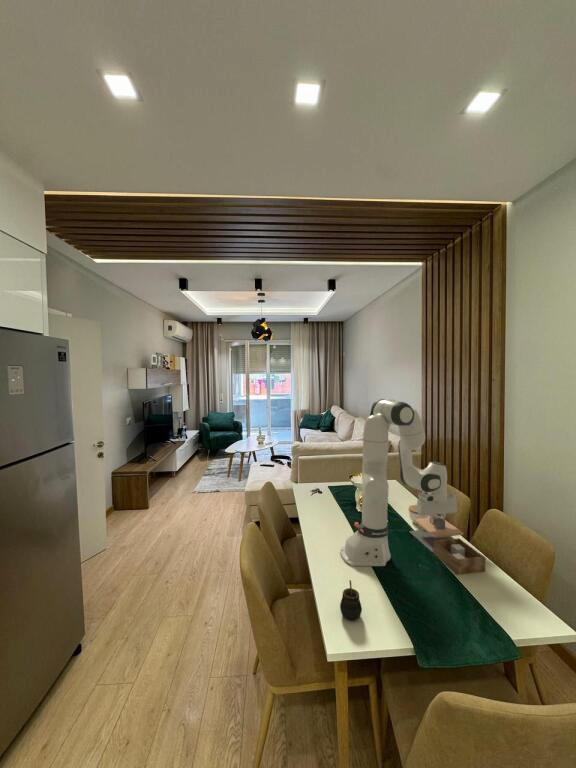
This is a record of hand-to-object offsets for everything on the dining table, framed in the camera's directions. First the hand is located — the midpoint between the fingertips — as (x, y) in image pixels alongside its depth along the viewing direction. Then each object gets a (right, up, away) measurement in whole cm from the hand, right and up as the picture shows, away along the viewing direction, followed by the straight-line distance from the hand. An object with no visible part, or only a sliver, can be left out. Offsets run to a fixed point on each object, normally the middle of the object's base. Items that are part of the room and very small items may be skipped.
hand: (437, 522), depth 163 cm
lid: (0, -3, 0) cm, 3 cm away
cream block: (-1, -9, -23) cm, 24 cm away
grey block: (+2, -9, -15) cm, 17 cm away
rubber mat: (0, -9, 0) cm, 9 cm away
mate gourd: (-53, -11, -50) cm, 73 cm away
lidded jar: (-1, -9, +19) cm, 21 cm away
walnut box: (+1, -10, -19) cm, 21 cm away
